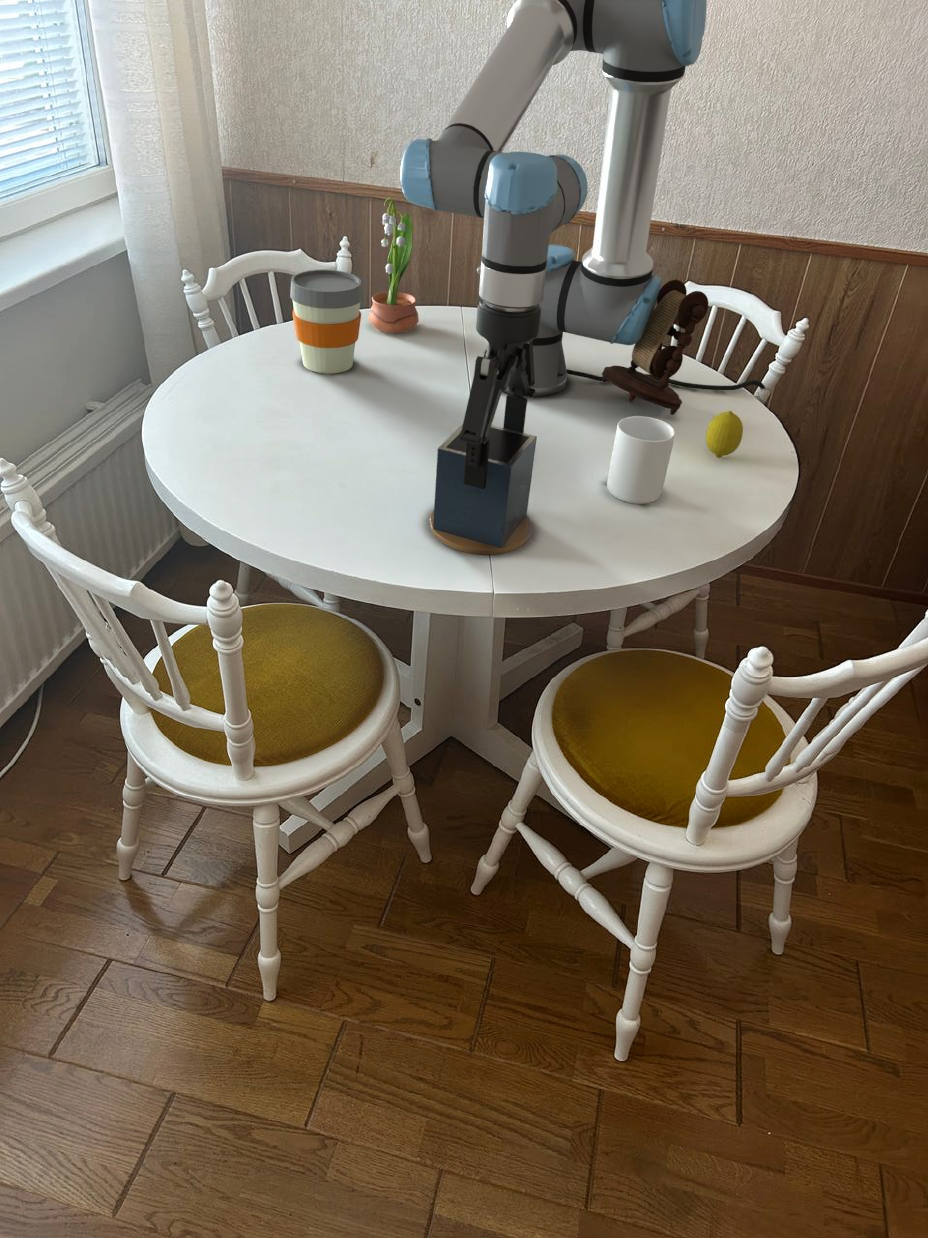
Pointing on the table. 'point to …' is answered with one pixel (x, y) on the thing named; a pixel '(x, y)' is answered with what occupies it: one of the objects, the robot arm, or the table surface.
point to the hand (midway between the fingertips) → (494, 462)
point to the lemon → (724, 434)
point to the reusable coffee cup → (326, 318)
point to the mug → (640, 459)
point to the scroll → (649, 348)
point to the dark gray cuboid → (499, 502)
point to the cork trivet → (477, 547)
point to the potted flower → (395, 279)
